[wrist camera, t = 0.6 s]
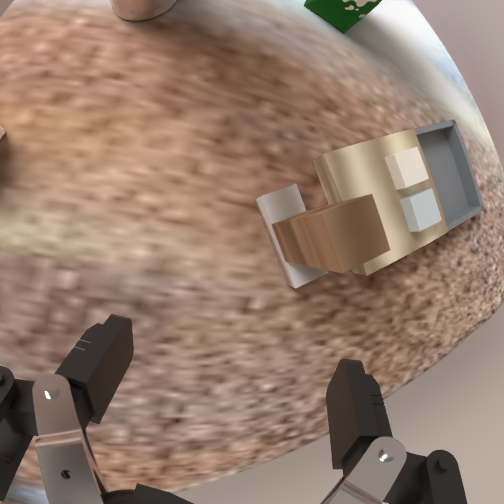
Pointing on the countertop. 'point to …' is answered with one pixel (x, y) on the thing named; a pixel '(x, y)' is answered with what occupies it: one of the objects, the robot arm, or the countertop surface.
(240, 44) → the countertop surface
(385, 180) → the light wood board
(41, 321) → the countertop surface
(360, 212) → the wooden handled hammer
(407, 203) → the tile
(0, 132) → the medicine bottle
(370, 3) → the milk carton
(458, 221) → the tray
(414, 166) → the tile
